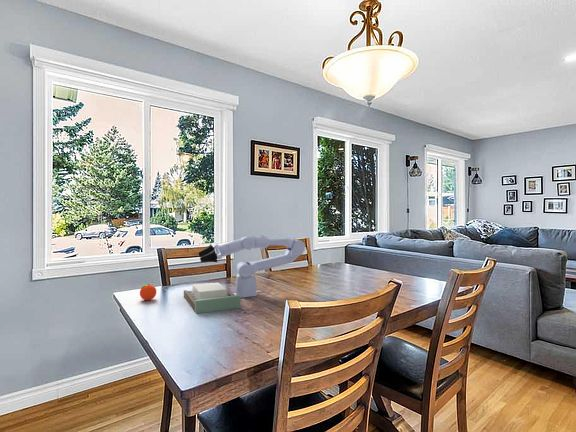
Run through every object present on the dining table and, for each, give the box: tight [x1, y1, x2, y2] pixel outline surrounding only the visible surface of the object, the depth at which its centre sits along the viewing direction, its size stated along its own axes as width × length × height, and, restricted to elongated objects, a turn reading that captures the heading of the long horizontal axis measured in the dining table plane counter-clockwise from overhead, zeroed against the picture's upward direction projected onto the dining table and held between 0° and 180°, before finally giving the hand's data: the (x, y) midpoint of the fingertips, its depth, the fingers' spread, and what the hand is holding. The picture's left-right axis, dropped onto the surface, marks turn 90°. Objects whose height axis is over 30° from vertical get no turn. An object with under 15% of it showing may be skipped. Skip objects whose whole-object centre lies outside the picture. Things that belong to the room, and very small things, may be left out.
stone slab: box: [192, 282, 228, 299], centre depth 148 cm, size 12×14×3 cm
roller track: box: [183, 289, 234, 313], centre depth 147 cm, size 18×24×3 cm
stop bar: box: [194, 294, 241, 314], centre depth 135 cm, size 18×2×5 cm, turn 118°
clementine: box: [138, 284, 157, 301], centre depth 147 cm, size 8×7×7 cm
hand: (199, 257), depth 151 cm, fingers open, 7 cm apart
